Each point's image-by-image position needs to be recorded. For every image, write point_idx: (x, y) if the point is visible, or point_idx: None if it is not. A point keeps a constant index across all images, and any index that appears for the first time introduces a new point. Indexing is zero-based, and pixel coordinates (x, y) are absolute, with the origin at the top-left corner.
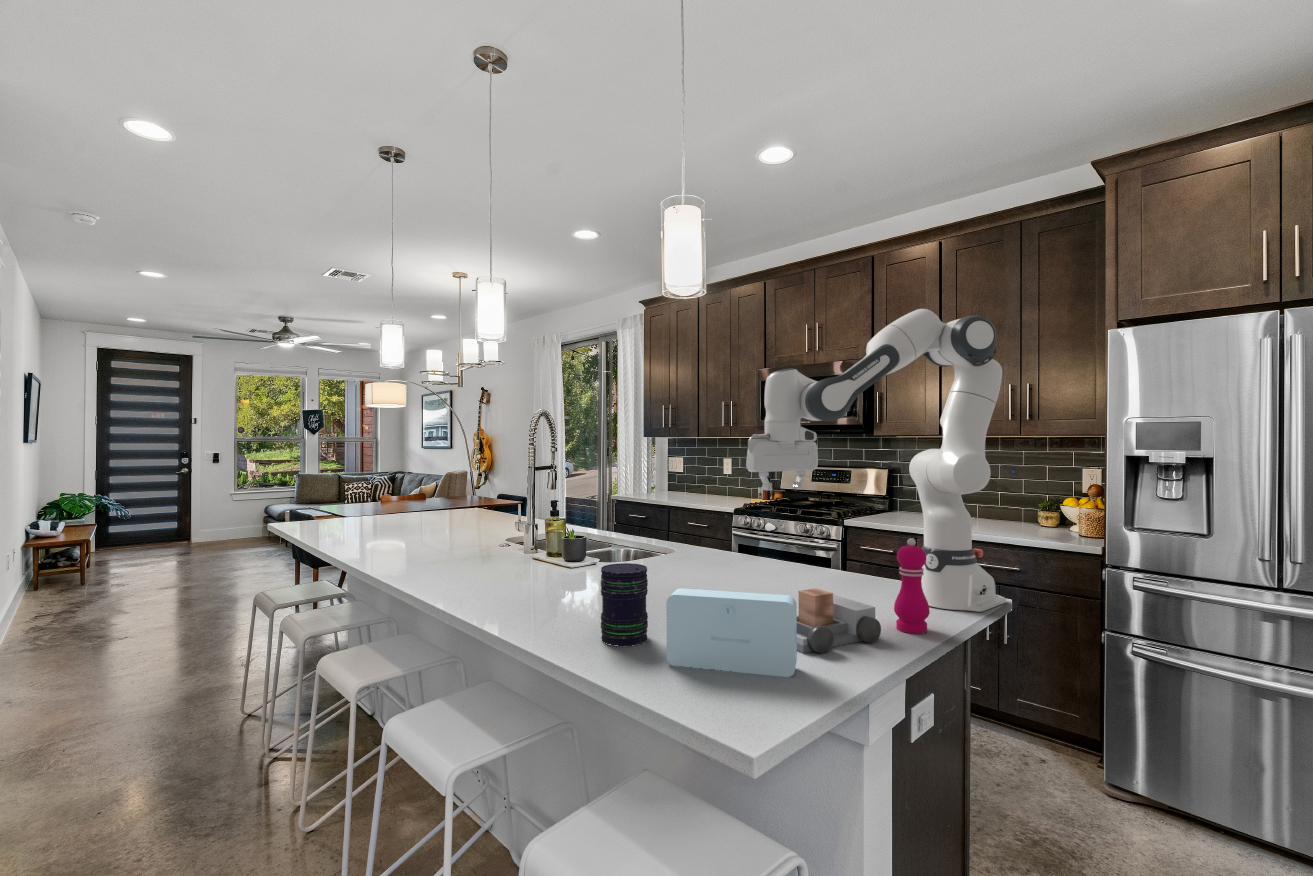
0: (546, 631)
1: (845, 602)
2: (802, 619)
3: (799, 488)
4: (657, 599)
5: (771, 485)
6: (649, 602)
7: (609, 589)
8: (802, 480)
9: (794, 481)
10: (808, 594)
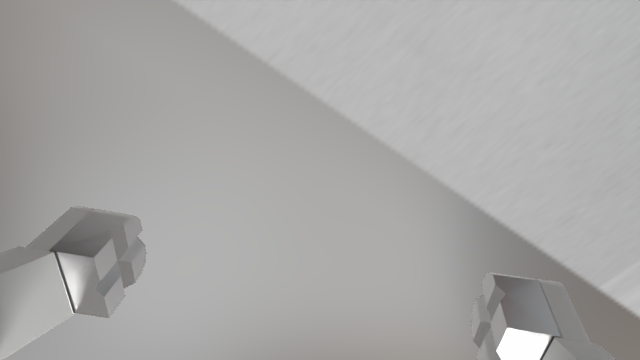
0: None
1: None
2: None
3: (103, 212)
4: (586, 261)
5: (511, 304)
6: (627, 253)
7: None
8: (7, 252)
9: (91, 309)
10: None
